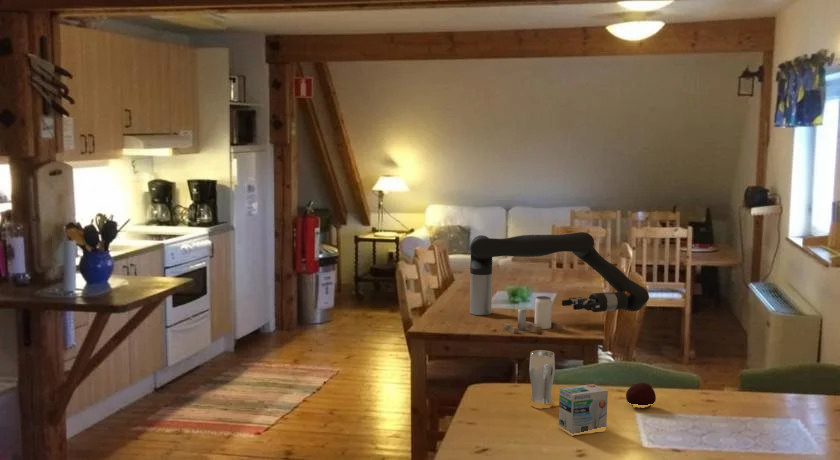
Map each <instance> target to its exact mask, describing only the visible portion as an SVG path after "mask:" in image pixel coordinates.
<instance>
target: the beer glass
mask: <svg viewBox="0 0 840 460" xmlns="http://www.w3.org/2000/svg"><path fill="white" fill-rule="evenodd" d="M528 367H529V368H528V369H529V378H530V379H529V380H530V386H531V399H530V401H531V400H532V401H533V402H535V403H542V404H548V403H551V402H552V390H553V384H554V378H555V373H556V372H555V370H556V361H555V352H553V351H550V350H544V349H543V350H542V349H538V350H532V351H530V356H529V366H528ZM552 403H553V402H552Z"/></svg>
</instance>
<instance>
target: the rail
mask: <svg viewBox="0 0 840 460" xmlns="http://www.w3.org/2000/svg"><path fill="white" fill-rule="evenodd" d="M502 329H503V330H504V331H507V332H509V333H511V334H514V335H515V334H528V333H539V332H549V331H561V330H563V324H562V323H561V322H560V323H559V322H557V321H555V320H552V319H551V328H550V329H546V330H542V329H541V326H539V325H537V324H535V322H531V321H526V330H525V331H519V328H518V326H515V325H512V324H510V323H507V322H505V323H502Z"/></svg>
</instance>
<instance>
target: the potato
mask: <svg viewBox="0 0 840 460" xmlns="http://www.w3.org/2000/svg"><path fill="white" fill-rule="evenodd" d="M656 395H657V394H656V392H655V390H654V388H653V387H652V385H650V384H649V383H647V382H639V383H635V384H633V385H631V386H630V387H629V388H628V389H627V391H626V393H625V398H626V402H627V403H628V402H629V403H631V404H638V405H648V404H653V403H654V402H655V403H656V399H657V396H656ZM629 403H628V404H629ZM655 403H654V404H655ZM654 404H653V405H654Z"/></svg>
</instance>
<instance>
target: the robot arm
mask: <svg viewBox="0 0 840 460" xmlns="http://www.w3.org/2000/svg"><path fill="white" fill-rule="evenodd" d="M469 247H470V267H469V268H470V269H469V271H470V273H469V314H470V315H474V316H489V315H491V314H492V301H493V300H492V299H493V297H492V294H493V293H492V289H493V287H492V286H493V285H492V284H493V258H495V257H496V258H498V257H514V258H515V257H518V258H519V257H522V258H526V257H527V258H535V257H536V258H537V257H543V256H548V255H552V254H555V253H559V252H561V253H562V252H568V253H569V252H570V253H571V252H572V253H573V255H575V257H577V258H579V259H580V260H581V261H583V262H584V263H586V264H587V266H590V267H591V268H592V269H593V270H594V271H596V272H597V273H598V274H599V275H600V276H601V277H602V278H603V279H604V280H605V281H606V282H607V283H608V284H609V285H610V286H611V287H612V288H613V289H614V290H615V292H595V293H591V294H590V295H589V297H582V296H580V297H579V296H578V297H569V298H568V299H563V300H561V306H564V307H566V306H567V307H569V306H572V308H573V310H574V311H576V310H577V311H578V310H583V311H591V312H593V313H603V312H610V311H611V312H612V311H618V310H624V311H629V312H637V311H640V310H641V309H642V308H643V307H644V306H645V305H646V303H647V302H648V301H649V299H650V294H649V292H648V290H647V289H646V288H645V287H644V286H641V284H638V283H636V282H635V281H633V280H631V279H630V278H629V277H628V276H627V275H625V273H624V272H622V270H620V269H619V268H618V267H617V266H616V265H614V264H612V263H611V262H609V261H608V260H606V259H605V258H604V256H602V255H601V254H600V253H599V252H598V250H596V249H595V238H594V237H593V236H592V235H591V234H589V233H588V232H583V231H579V232H572V233H565V234H524V235H523V234H522V235H515V236H510V237H506V238H491V237H488V236H486V235H483V234H482V235H478V236H477V235H476V236H475V237H474V238H473V239H472V240H471V242H470V246H469ZM626 292H627V293H629V295H627V293H626Z"/></svg>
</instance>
